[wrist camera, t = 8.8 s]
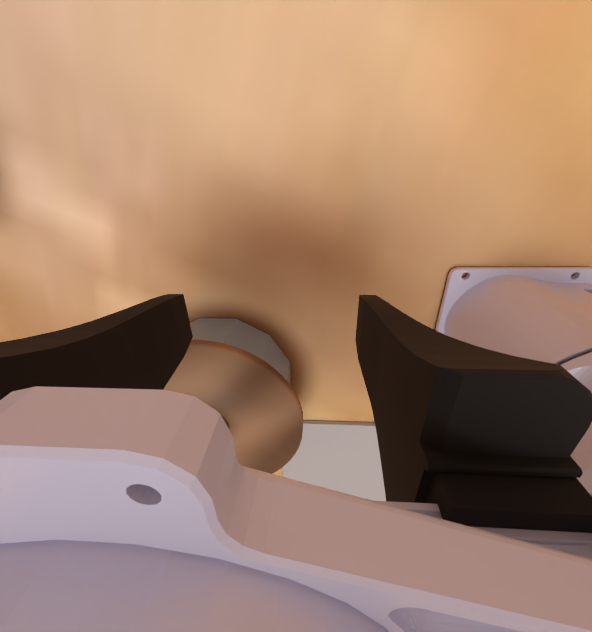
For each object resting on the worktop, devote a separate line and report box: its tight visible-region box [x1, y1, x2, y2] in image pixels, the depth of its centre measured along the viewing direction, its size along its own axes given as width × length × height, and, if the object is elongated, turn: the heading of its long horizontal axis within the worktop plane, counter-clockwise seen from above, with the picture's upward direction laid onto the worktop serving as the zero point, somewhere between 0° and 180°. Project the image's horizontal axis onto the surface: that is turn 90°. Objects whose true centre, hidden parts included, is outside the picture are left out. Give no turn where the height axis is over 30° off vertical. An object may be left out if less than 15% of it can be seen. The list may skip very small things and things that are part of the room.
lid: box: [163, 340, 303, 474], centre depth 20 cm, size 14×14×4 cm
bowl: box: [190, 318, 291, 385], centre depth 24 cm, size 11×11×4 cm
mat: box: [282, 420, 386, 501], centre depth 31 cm, size 17×17×1 cm
